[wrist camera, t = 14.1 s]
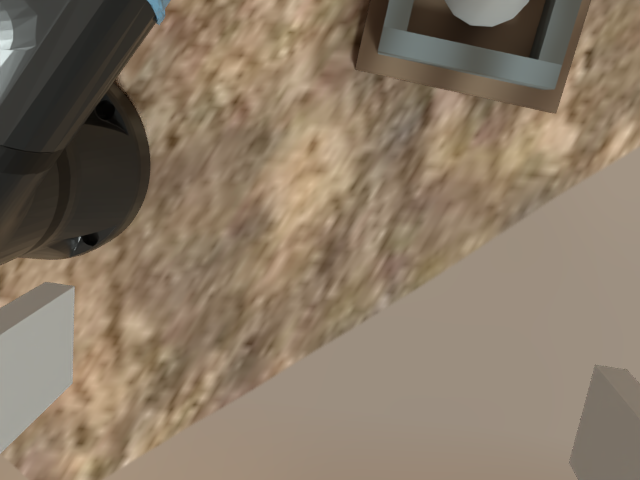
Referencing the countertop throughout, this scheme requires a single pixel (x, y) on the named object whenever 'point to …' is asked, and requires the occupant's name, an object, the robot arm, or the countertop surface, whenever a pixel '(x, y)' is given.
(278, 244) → the countertop surface
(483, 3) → the salt shaker
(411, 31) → the collar socket
